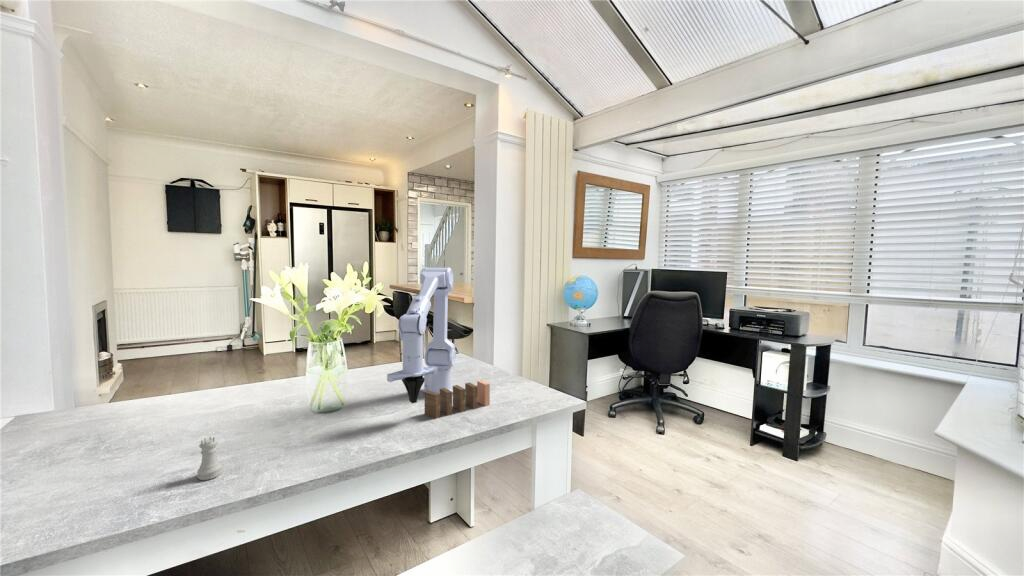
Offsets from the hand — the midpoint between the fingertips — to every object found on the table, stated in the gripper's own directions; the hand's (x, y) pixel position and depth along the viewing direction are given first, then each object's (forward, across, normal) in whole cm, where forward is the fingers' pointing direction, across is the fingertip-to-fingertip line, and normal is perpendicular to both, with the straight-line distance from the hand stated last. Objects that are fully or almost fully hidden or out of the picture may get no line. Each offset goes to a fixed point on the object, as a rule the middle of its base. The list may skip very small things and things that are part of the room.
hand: (413, 401), depth 118 cm
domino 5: (+6, +24, 0) cm, 25 cm away
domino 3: (+6, +15, 0) cm, 16 cm away
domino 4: (+6, +20, 0) cm, 20 cm away
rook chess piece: (+6, -48, -3) cm, 48 cm away
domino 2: (+6, +10, 0) cm, 12 cm away
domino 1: (+6, +6, 0) cm, 8 cm away
